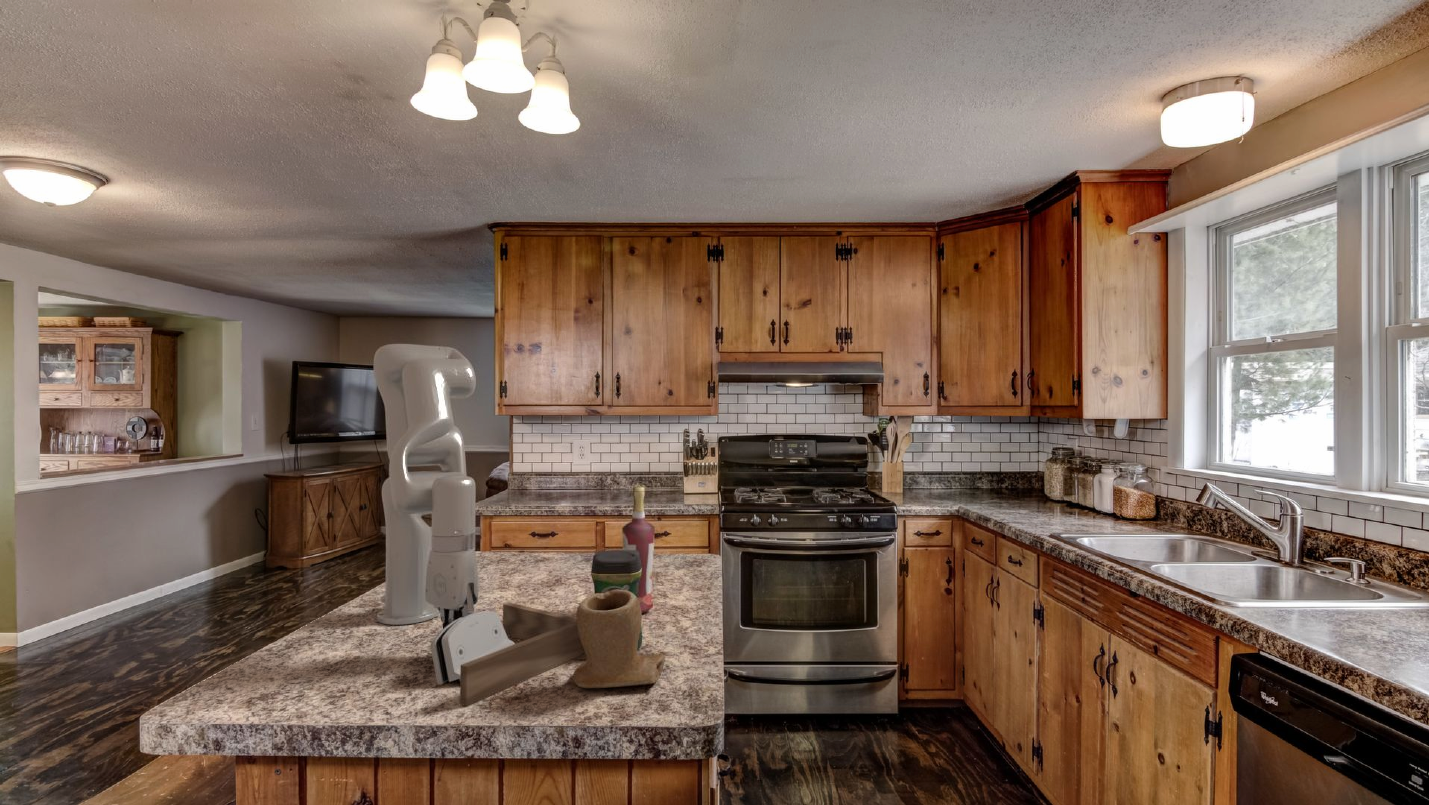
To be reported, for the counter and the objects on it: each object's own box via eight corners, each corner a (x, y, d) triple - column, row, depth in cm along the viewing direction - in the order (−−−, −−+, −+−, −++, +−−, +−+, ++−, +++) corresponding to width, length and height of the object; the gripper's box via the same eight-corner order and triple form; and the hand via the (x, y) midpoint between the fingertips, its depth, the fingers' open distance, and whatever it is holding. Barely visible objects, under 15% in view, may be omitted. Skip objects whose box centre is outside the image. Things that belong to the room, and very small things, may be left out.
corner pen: (385, 675, 109) (386, 640, 109) (508, 632, 131) (509, 602, 131) (466, 706, 97) (466, 667, 98) (586, 653, 119) (586, 620, 120)
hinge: (463, 687, 104) (445, 627, 105) (439, 694, 105) (422, 635, 106) (518, 651, 121) (502, 599, 121) (497, 657, 122) (481, 606, 123)
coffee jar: (643, 640, 126) (644, 546, 126) (640, 655, 118) (640, 554, 118) (594, 641, 126) (595, 546, 126) (587, 656, 118) (587, 554, 118)
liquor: (658, 614, 143) (659, 488, 143) (626, 618, 140) (627, 489, 141) (648, 605, 150) (649, 484, 150) (618, 608, 147) (618, 486, 147)
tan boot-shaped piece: (567, 701, 100) (567, 604, 100) (577, 670, 111) (578, 584, 112) (665, 698, 101) (665, 602, 101) (665, 668, 112) (665, 582, 113)
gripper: (410, 542, 120) (410, 641, 119) (461, 551, 112) (460, 657, 111) (446, 536, 126) (445, 630, 125) (496, 544, 118) (496, 644, 117)
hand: (452, 642), depth 118 cm, fingers closed
